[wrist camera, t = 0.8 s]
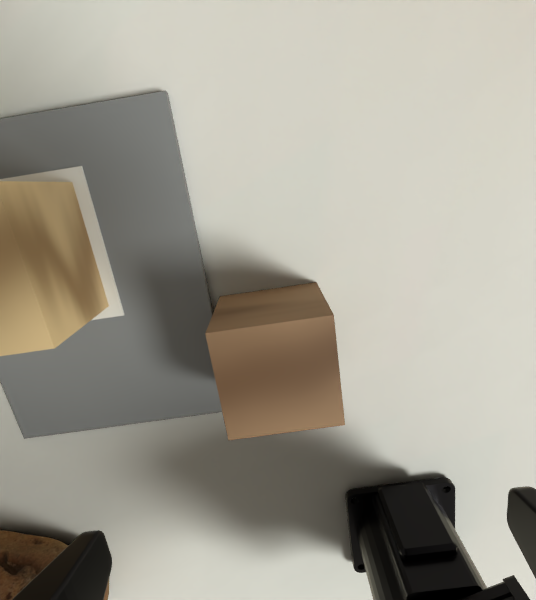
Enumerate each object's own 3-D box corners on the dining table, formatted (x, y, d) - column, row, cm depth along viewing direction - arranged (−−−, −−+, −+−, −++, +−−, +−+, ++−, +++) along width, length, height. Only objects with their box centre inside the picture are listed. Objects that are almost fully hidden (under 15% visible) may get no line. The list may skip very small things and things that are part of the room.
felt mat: (232, 406, 21) (231, 411, 20) (28, 433, 21) (23, 439, 21) (167, 92, 16) (164, 90, 16) (-94, 137, 16) (-105, 135, 16)
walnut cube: (326, 368, 20) (344, 424, 16) (236, 380, 20) (228, 440, 16) (316, 281, 19) (333, 314, 14) (220, 295, 19) (205, 333, 14)
